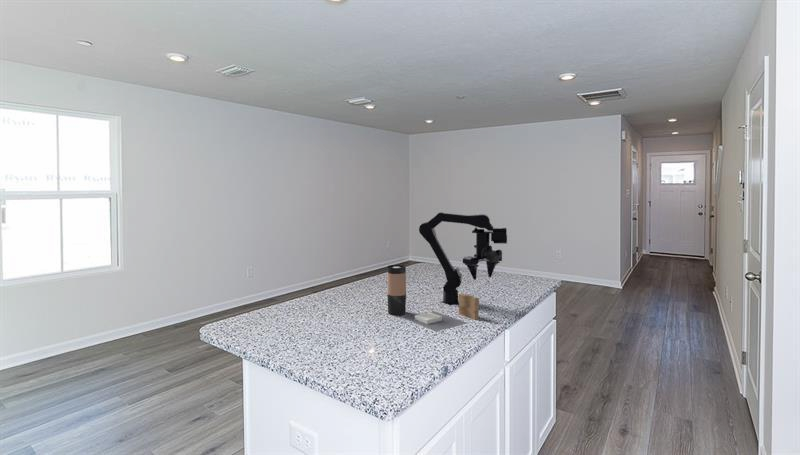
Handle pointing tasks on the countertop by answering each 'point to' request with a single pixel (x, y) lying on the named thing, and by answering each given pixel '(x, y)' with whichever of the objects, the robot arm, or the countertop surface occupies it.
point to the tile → (428, 318)
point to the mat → (440, 325)
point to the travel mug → (396, 289)
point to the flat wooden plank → (469, 306)
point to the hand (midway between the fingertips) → (482, 278)
